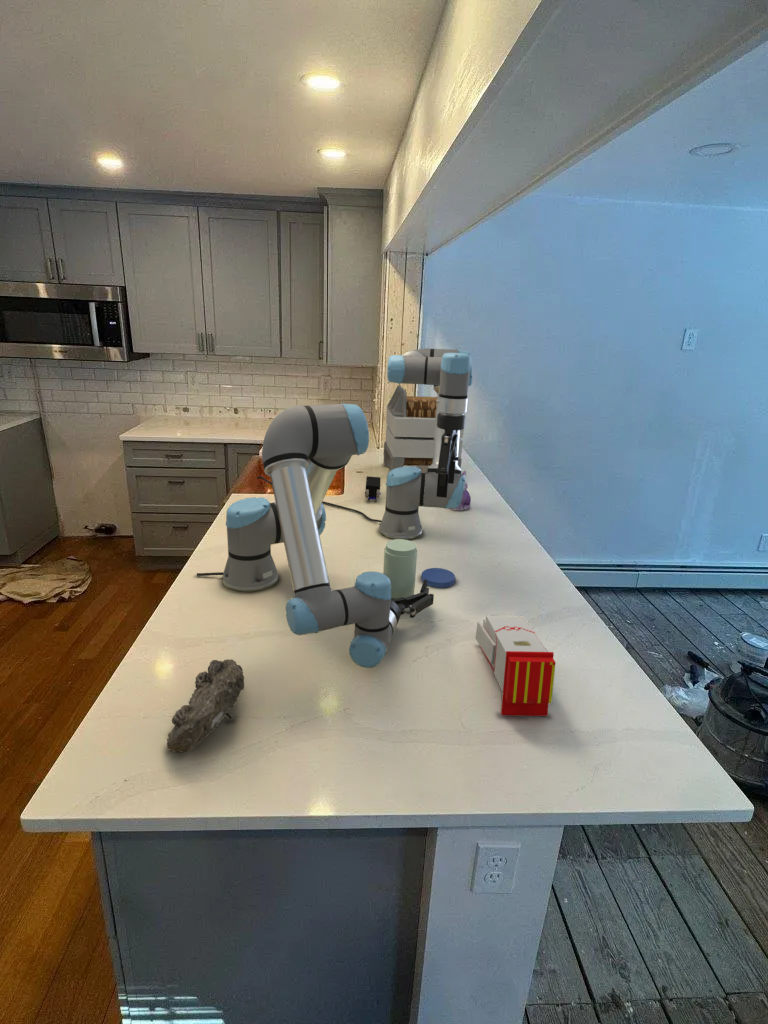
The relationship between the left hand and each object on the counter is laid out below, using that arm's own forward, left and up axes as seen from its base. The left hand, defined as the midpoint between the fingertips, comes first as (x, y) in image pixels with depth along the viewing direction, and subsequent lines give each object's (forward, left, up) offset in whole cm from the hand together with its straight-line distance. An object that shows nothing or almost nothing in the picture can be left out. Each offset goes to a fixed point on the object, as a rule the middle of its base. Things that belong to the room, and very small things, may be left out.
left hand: (400, 580), depth 152 cm
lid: (+8, +16, -5) cm, 18 cm away
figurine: (+7, +83, -6) cm, 84 cm away
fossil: (-24, -56, -6) cm, 61 cm away
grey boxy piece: (-18, +128, -6) cm, 129 cm away
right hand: (+8, +16, +22) cm, 28 cm away
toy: (+30, -25, -6) cm, 40 cm away
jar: (0, -1, -6) cm, 6 cm away
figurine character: (-29, +82, -6) cm, 88 cm away
